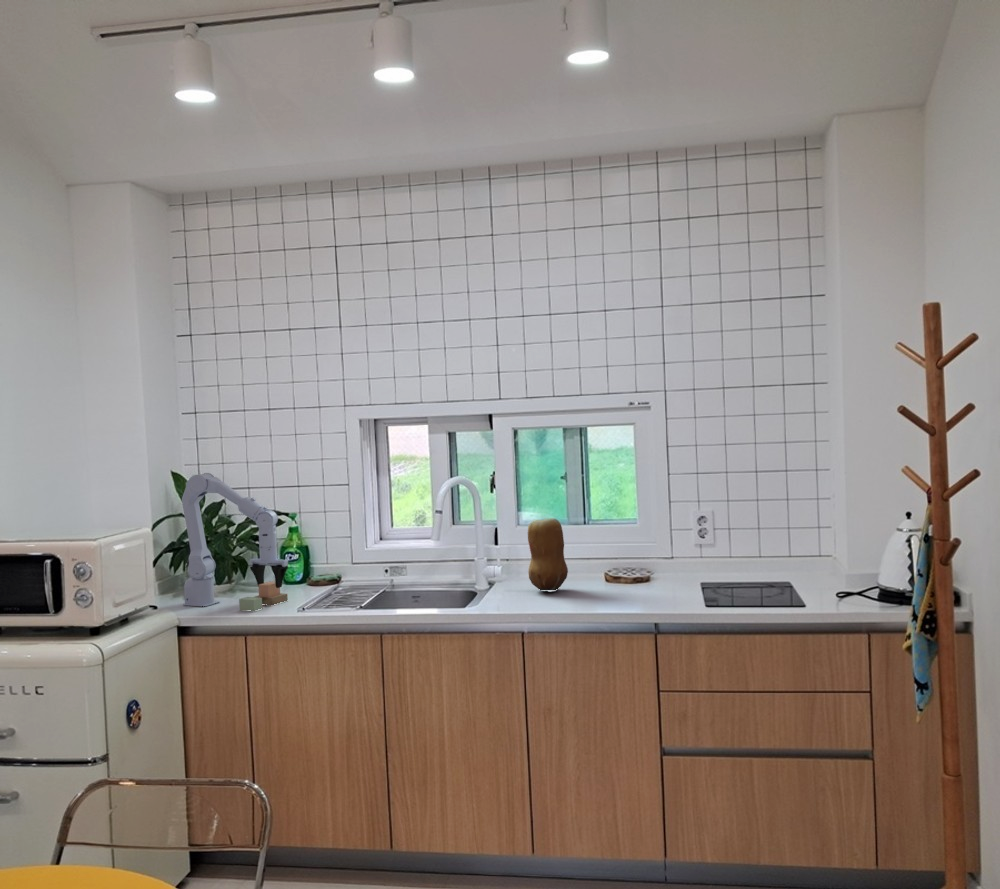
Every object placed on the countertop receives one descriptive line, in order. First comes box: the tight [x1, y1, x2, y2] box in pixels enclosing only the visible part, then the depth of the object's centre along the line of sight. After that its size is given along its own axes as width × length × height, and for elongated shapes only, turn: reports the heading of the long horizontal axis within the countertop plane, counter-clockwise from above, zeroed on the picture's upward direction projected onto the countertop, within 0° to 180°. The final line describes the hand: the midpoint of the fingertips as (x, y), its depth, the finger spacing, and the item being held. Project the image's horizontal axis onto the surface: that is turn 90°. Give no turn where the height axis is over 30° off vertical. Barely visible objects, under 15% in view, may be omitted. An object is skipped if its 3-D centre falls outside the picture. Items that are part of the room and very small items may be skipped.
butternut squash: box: [527, 518, 569, 591], centre depth 322 cm, size 14×13×25 cm
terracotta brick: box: [258, 581, 281, 597], centre depth 321 cm, size 6×4×4 cm, turn 154°
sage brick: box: [238, 596, 263, 611], centre depth 310 cm, size 6×4×4 cm, turn 64°
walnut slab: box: [254, 592, 288, 606], centre depth 321 cm, size 8×8×3 cm
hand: (269, 586), depth 320 cm, fingers open, 7 cm apart
